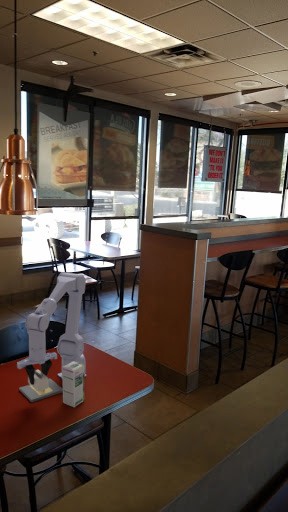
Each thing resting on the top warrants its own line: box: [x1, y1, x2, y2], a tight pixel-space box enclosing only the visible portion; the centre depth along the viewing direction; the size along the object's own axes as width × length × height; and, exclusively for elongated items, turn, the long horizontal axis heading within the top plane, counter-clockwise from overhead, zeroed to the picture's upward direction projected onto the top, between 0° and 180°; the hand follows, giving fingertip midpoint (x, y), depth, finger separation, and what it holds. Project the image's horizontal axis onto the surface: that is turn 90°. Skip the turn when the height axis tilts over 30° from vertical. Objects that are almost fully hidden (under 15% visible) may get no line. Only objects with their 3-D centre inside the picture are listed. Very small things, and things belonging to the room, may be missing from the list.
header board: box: [19, 378, 63, 403], centre depth 154 cm, size 13×11×4 cm
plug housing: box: [27, 369, 49, 391], centre depth 144 cm, size 4×8×5 cm, turn 40°
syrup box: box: [61, 361, 85, 408], centre depth 146 cm, size 6×6×14 cm
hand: (38, 381), depth 145 cm, fingers closed on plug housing, 4 cm apart
